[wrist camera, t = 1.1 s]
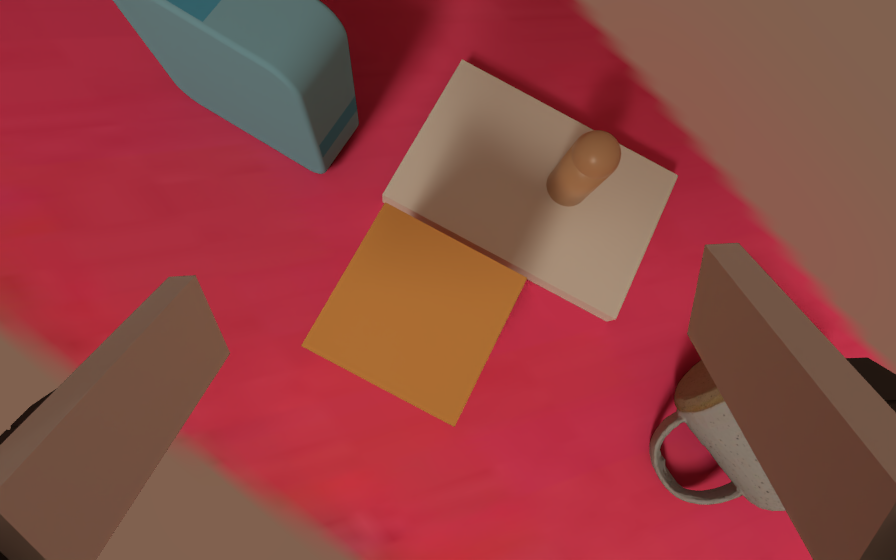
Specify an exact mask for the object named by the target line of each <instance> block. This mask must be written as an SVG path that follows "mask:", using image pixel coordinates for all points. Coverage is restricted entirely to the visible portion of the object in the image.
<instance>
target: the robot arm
mask: <svg viewBox="0 0 896 560" xmlns="http://www.w3.org/2000/svg"><path fill="white" fill-rule="evenodd" d="M687 334H688V336H689V338H690V340H691V342H692V343H693V345H694V347H695V349H696V351H697V352H698V354H699V356H700V358H701V359H702V361H703V363H704V365H705V367H706V368H707V370H708V372H709V374H710V376H711V377H712V379H713V381H714V383H715V385H716V386H717V388H718V390H719V392H720V394H721V395H722V397H723V399H724V401H725V402H726V404H727V406H728V408H729V410H730V411H731V413H732V415H733V417H734V419H735V420H736V422H737V424H738V426H739V428H740V429H741V431H742V433H743V435H744V437H745V438H746V440H747V442H748V444H749V445H750V447H751V449H752V451H753V453H754V454H755V456H756V458H757V460H758V462H759V463H760V465H761V467H762V469H763V471H764V472H765V474H766V476H767V478H768V479H769V481H770V483H771V485H772V487H773V488H774V490H775V492H776V494H777V496H778V497H779V499H780V501H781V503H782V505H783V506H784V508H785V510H786V512H787V514H788V515H789V517H790V519H791V521H792V522H793V524H794V526H795V528H796V530H797V531H798V533H799V535H800V537H801V539H802V540H803V542H804V544H805V546H806V548H807V549H808V551H809V553H810V555H811V557H812V558H813V560H896V374H894V373H892V372H891V371H889V370H887V369H886V368H884V367H882V366H881V365H879V364H877V363H876V362H874V361H872V360H871V359H869V358H845V357H844V356H843V355H842V354H841V353H840V352H839V351H838V350H837V349H836V348H835V347H834V345H833V344H832V343H831V342H830V341H829V340H828V339H827V338H826V337H825V336H824V335H823V334H822V333H821V331H820V330H819V329H818V328H817V327H816V326H815V325H814V324H813V323H812V322H811V321H810V320H809V318H808V317H807V316H806V315H805V314H804V313H803V312H802V311H801V310H800V309H799V308H798V307H797V306H796V304H795V303H794V302H793V301H792V300H791V299H790V298H789V297H788V296H787V295H786V294H785V293H784V292H783V290H782V289H781V288H780V287H779V286H778V285H777V284H776V283H775V282H774V281H773V280H772V279H771V277H770V276H769V275H768V274H767V273H766V272H765V271H764V270H763V269H762V268H761V267H760V266H759V265H758V263H757V262H756V261H755V260H754V259H753V258H752V257H751V256H750V255H749V254H748V253H747V252H746V250H745V249H744V248H743V247H742V246H741V245H740V244H739V243H727V244H711V245H705V248H704V253H703V258H702V263H701V268H700V273H699V278H698V283H697V288H696V293H695V298H694V303H693V308H692V313H691V318H690V323H689V328H688V333H687ZM229 354H230V352H229V350H228V348H227V345H226V343H225V341H224V339H223V336H222V334H221V332H220V330H219V327H218V325H217V323H216V321H215V318H214V316H213V314H212V312H211V309H210V307H209V305H208V302H207V300H206V298H205V296H204V293H203V291H202V289H201V287H200V284H199V282H198V280H197V278H196V275H193V276H176V277H168V278H167V279H166V280H165V281H164V282H163V283H162V284H161V285H160V286H159V287H158V288H157V289H156V290H155V291H154V292H153V293H152V294H151V295H150V296H149V297H148V298H147V299H146V300H145V301H144V302H143V303H142V304H141V305H140V306H139V307H138V308H137V309H136V310H135V311H134V312H133V313H132V314H131V315H130V316H129V317H128V318H127V319H126V320H125V321H124V322H123V323H122V324H121V325H120V326H119V327H118V328H117V329H116V330H115V331H114V332H113V333H112V334H111V335H110V336H109V337H108V338H107V339H106V340H105V341H104V342H103V343H102V344H101V345H100V346H99V347H98V348H97V349H96V350H95V351H94V352H93V353H92V354H91V355H90V356H89V357H88V358H87V359H86V360H85V361H84V362H83V363H82V364H81V365H80V366H79V367H78V368H77V369H76V370H75V371H74V372H73V373H72V374H71V375H70V376H69V377H68V378H67V379H66V380H65V381H64V382H63V383H62V384H61V385H60V386H59V387H58V388H57V389H55V390H54V391H53V392H51V393H49V394H48V395H46V396H45V397H43V398H42V399H40V400H39V401H38V402H36V403H35V404H33V405H32V406H30V407H29V408H28V409H27V410H26V411H25V412H24V413H23V414H22V415H21V416H20V417H19V418H18V419H17V420H16V421H15V422H14V423H13V424H12V425H11V429H10V430H6V431H5V432H4V433H3V434H2V435H1V436H0V560H96V559H97V557H98V556H99V554H100V553H101V551H102V550H103V548H104V547H105V545H106V543H107V542H108V540H109V539H110V537H111V536H112V534H113V533H114V531H115V530H116V528H117V527H118V525H119V524H120V522H121V520H122V519H123V517H124V516H125V514H126V513H127V511H128V510H129V508H130V507H131V505H132V503H133V502H134V500H135V499H136V497H137V496H138V494H139V492H140V491H141V489H142V488H143V486H144V485H145V483H146V482H147V480H148V479H149V477H150V476H151V474H152V473H153V471H154V470H155V468H156V467H157V465H158V463H159V462H160V460H161V459H162V457H163V456H164V454H165V453H166V451H167V450H168V448H169V446H170V445H171V443H172V442H173V440H174V439H175V437H176V436H177V434H178V433H179V431H180V430H181V428H182V426H183V425H184V423H185V422H186V420H187V419H188V417H189V416H190V414H191V413H192V411H193V410H194V408H195V406H196V405H197V403H198V402H199V400H200V399H201V397H202V396H203V394H204V393H205V391H206V389H207V388H208V386H209V385H210V383H211V382H212V380H213V379H214V377H215V376H216V374H217V373H218V371H219V369H220V368H221V366H222V365H223V363H224V362H225V360H226V359H227V357H228V356H229Z"/></svg>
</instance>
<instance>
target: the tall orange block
mask: <svg viewBox="0 0 896 560" xmlns="http://www.w3.org/2000/svg"><path fill="white" fill-rule="evenodd" d="M526 279H527V277H525V276H523V275H521V274H519V273H517V272H515V271H513V270H512V269H510V268H508V267H506V266H504V265H502V264H500V263H498V262H497V261H495V260H493V259H491V258H489V257H487V256H485V255H483V254H482V253H480V252H478V251H476V250H474V249H472V248H470V247H468V246H467V245H465V244H463V243H461V242H459V241H457V240H455V239H453V238H452V237H450V236H448V235H446V234H444V233H442V232H440V231H438V230H437V229H435V228H433V227H431V226H429V225H427V224H425V223H423V222H422V221H420V220H418V219H416V218H414V217H412V216H410V215H408V214H407V213H405V212H403V211H401V210H399V209H397V208H395V207H393V206H392V205H390V204H388V203H386V202H385V204H384V205H383V207H382V209H381V210H380V212H379V214H378V216H377V217H376V219H375V221H374V222H373V224H372V226H371V227H370V229H369V231H368V233H367V234H366V236H365V238H364V239H363V241H362V243H361V245H360V246H359V248H358V250H357V251H356V253H355V255H354V256H353V258H352V260H351V262H350V263H349V265H348V267H347V268H346V270H345V272H344V274H343V275H342V277H341V279H340V280H339V282H338V284H337V286H336V287H335V289H334V291H333V292H332V294H331V296H330V297H329V299H328V301H327V303H326V304H325V306H324V308H323V309H322V311H321V313H320V315H319V316H318V318H317V320H316V321H315V323H314V325H313V327H312V328H311V330H310V332H309V333H308V335H307V337H306V338H305V340H304V342H303V344H302V345H301V346H303V347H304V348H306V349H308V350H310V351H312V352H314V353H316V354H318V355H320V356H321V357H323V358H325V359H327V360H329V361H331V362H333V363H335V364H337V365H338V366H340V367H342V368H344V369H346V370H348V371H350V372H352V373H354V374H355V375H357V376H359V377H361V378H363V379H365V380H367V381H369V382H371V383H372V384H374V385H376V386H378V387H380V388H382V389H384V390H386V391H388V392H389V393H391V394H393V395H395V396H397V397H399V398H401V399H403V400H405V401H406V402H408V403H410V404H412V405H414V406H416V407H418V408H420V409H422V410H423V411H425V412H427V413H429V414H431V415H433V416H435V417H437V418H439V419H440V420H442V421H444V422H446V423H448V424H450V425H452V426H454V427H455V425H456V422H457V420H458V418H459V416H460V414H461V412H462V410H463V408H464V406H465V404H466V402H467V400H468V398H469V396H470V394H471V392H472V390H473V388H474V386H475V384H476V382H477V380H478V378H479V375H480V373H481V371H482V369H483V367H484V365H485V363H486V361H487V359H488V357H489V355H490V353H491V351H492V349H493V347H494V345H495V343H496V341H497V339H498V337H499V335H500V333H501V331H502V328H503V326H504V324H505V322H506V320H507V318H508V316H509V314H510V312H511V310H512V308H513V306H514V304H515V302H516V300H517V298H518V296H519V294H520V292H521V290H522V288H523V286H524V283H525V281H526Z"/></svg>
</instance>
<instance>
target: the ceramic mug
mask: <svg viewBox="0 0 896 560" xmlns="http://www.w3.org/2000/svg"><path fill="white" fill-rule="evenodd" d="M674 402H675V405H676V407H677V411H676V412H675V413H673V414H672V415H670V416H668V417H667V418H665V419H664V420H663V421H662V423H661V424H660V425H659V426H658V427H657V429H656V430H655V432H654V434H653V436H652V438H651V441H650V457H651V462H652V465H653V467H654V469H655V471H656V473H657V475H658V477H659V479H660V480H661V482H662V483H663V485H664V486H665V487H666V488H667V489H668V490H669V491H670V492H671V493H672V494H673V495H675V496H676V497H677V498H679V499H681V500H684V501H687V502H690V503H695V504H707V505H708V504H717V503H722V502H726V501H729V500H732V499H734V498H737V497H740V496H742V495H743V496H744V497H745V498H746V499H747V500H748V501H750V502H751V503H753V504H754V505H756V506H757V507H760V508H762V509H766V510H771V511H785V508H784V506H783V505H782V503H781V501H780V499H779V497H778V496H777V494H776V492H775V490H774V488H773V487H772V485H771V483H770V481H769V479H768V478H767V476H766V474H765V472H764V471H763V469H762V467H761V465H760V463H759V462H758V460H757V458H756V456H755V454H754V453H753V451H752V449H751V447H750V445H749V444H748V442H747V440H746V438H745V437H744V435H743V433H742V431H741V429H740V428H739V426H738V424H737V422H736V420H735V419H734V417H733V415H732V413H731V411H730V410H729V408H728V406H727V404H726V402H725V401H724V399H723V397H722V395H721V394H720V392H719V390H718V388H717V386H716V385H715V383H714V381H713V379H712V377H711V376H710V374H709V372H708V370H707V368H706V367H705V365H704V363H703V361H702V360H701V361H699V362H698V363H697V364H696V365H694V366H693V367H692V368H691V369H690V370H689V371H688V372H687V373H686V374H685V375H684V377H683V378H682V379H681V380H680V382H679V383H678V385H677V387H676V391H675V395H674ZM683 422H685V423H686V424H687V425H688V427H689V428H690V430H691V431H692V432H693V433H694V434H695V436H696V437H697V438H698V439H699V441H700V442H701V444H702V445H704V446H705V447H706V448H707V450H708V451H709V452H710V453H711V455H712V456H713V458H714V459H715V460H716V462H717V463H718V465H719V466H720V467H721V468H722V469H723V471H724V472H725V473H726V474H727V475H728V477H729V478H730V479H731V482H730V483H729V484H726V485H723V486H721V487H718V488H714V489H710V490H704V491H695V490H688V489H685V488H683V487H682V486H681V485H679V484H678V483H677V482H676V481H675V479H674V478H673V476H672V475H671V474H670V472H669V471H668V469H667V467H666V465H665V459H664V457H663V456H662V455H661V451H660V447H661V445H662V443H663V441H664V438H665V437H666V436H667V435H668V434H669V433H670V432H671V431H672V430H673V429H674V428H675V427H677V426H678V425H679V424H680V423H683Z"/></svg>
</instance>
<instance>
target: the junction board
mask: <svg viewBox="0 0 896 560" xmlns="http://www.w3.org/2000/svg"><path fill="white" fill-rule="evenodd" d="M677 177H678V175H676V174H675V173H673V172H671V171H669V170H667V169H665V168H663V167H662V166H660V165H658V164H656V163H654V162H652V161H650V160H648V159H647V158H645V157H643V156H641V155H639V154H637V153H635V152H634V151H632V150H630V149H628V148H626V147H624V146H622V145H621V144H619V143H618V141H617V140H616V138H615V137H614V136H613V135H611V134H610V133H608V132H605V131H601V130H593V129H591V128H589V127H587V126H585V125H583V124H581V123H580V122H578V121H576V120H574V119H572V118H570V117H568V116H567V115H565V114H563V113H561V112H559V111H557V110H555V109H553V108H552V107H550V106H548V105H546V104H544V103H542V102H540V101H539V100H537V99H535V98H533V97H531V96H529V95H527V94H526V93H524V92H522V91H520V90H518V89H516V88H514V87H513V86H511V85H509V84H507V83H505V82H503V81H501V80H499V79H498V78H496V77H494V76H492V75H490V74H488V73H486V72H485V71H483V70H481V69H479V68H477V67H475V66H473V65H472V64H470V63H468V62H466V61H464V60H461V62H460V64H459V66H458V67H457V69H456V71H455V72H454V74H453V76H452V77H451V79H450V81H449V83H448V84H447V86H446V88H445V89H444V91H443V93H442V94H441V96H440V98H439V100H438V101H437V103H436V105H435V106H434V108H433V110H432V111H431V113H430V115H429V116H428V118H427V120H426V122H425V123H424V125H423V127H422V128H421V130H420V132H419V133H418V135H417V137H416V139H415V140H414V142H413V144H412V145H411V147H410V149H409V150H408V152H407V154H406V156H405V157H404V159H403V161H402V162H401V164H400V166H399V167H398V169H397V171H396V172H395V174H394V176H393V178H392V179H391V181H390V183H389V184H388V186H387V188H386V189H385V191H384V193H383V195H382V196H383V203H385V202H386V203H388V204H390V205H392V206H393V207H395V208H397V209H399V210H401V211H403V212H405V213H407V214H408V215H410V216H412V217H414V218H416V219H418V220H420V221H422V222H423V223H425V224H427V225H429V226H431V227H433V228H435V229H437V230H438V231H440V232H442V233H444V234H446V235H448V236H450V237H452V238H453V239H455V240H457V241H459V242H461V243H463V244H465V245H467V246H468V247H470V248H472V249H474V250H476V251H478V252H480V253H482V254H483V255H485V256H487V257H489V258H491V259H493V260H495V261H497V262H498V263H500V264H502V265H504V266H506V267H508V268H510V269H512V270H513V271H515V272H517V273H519V274H521V275H523V276H525V277H527V279H528V280H530V281H532V282H533V283H535V284H537V285H539V286H541V287H543V288H545V289H547V290H548V291H550V292H552V293H554V294H556V295H558V296H560V297H562V298H563V299H565V300H567V301H569V302H571V303H573V304H575V305H577V306H578V307H580V308H582V309H584V310H586V311H588V312H590V313H592V314H593V315H595V316H597V317H599V318H601V319H603V320H605V321H610V320H614V319H616V318H617V315H618V313H619V311H620V308H621V306H622V304H623V302H624V299H625V297H626V295H627V292H628V290H629V288H630V285H631V283H632V281H633V279H634V276H635V274H636V272H637V269H638V267H639V265H640V262H641V260H642V258H643V256H644V253H645V251H646V249H647V246H648V244H649V242H650V239H651V237H652V235H653V232H654V230H655V228H656V226H657V223H658V221H659V219H660V216H661V214H662V212H663V209H664V207H665V205H666V203H667V200H668V198H669V196H670V193H671V191H672V189H673V186H674V184H675V182H676V180H677Z"/></svg>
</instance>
